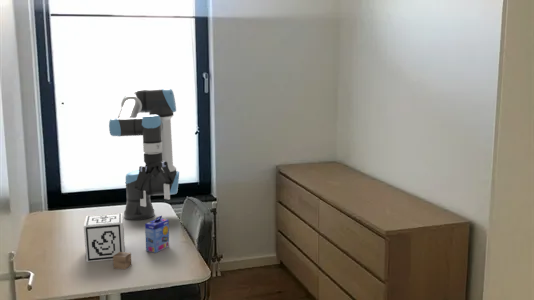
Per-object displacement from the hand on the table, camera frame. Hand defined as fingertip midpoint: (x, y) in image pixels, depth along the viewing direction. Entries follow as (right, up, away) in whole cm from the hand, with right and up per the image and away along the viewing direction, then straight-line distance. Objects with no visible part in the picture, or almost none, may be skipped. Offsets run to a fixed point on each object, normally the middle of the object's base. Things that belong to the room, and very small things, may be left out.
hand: (155, 202), depth 245 cm
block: (-20, -22, -1) cm, 30 cm away
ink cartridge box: (0, -20, +4) cm, 21 cm away
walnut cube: (-10, -24, -16) cm, 30 cm away
